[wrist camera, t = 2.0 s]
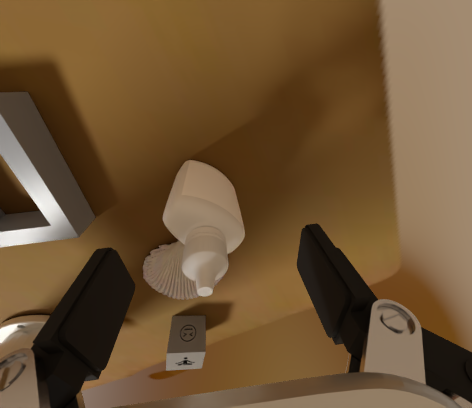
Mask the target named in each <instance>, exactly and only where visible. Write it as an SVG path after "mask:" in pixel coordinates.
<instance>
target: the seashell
mask: <svg viewBox="0 0 472 408" xmlns="http://www.w3.org/2000/svg"><path fill="white" fill-rule="evenodd" d="M184 246H185V245H184V244H183V243H181V242H180V241H179V240H178V241H177V242H175V243H172V244H171V245H167V244H165V245H159V249H155V250H152V251H151V252H150V253H151V255H149V256H147V257H146V258H145V261H144V265H143V271H144V272H143V274H144V276H143V278H144V279H145V280H146V282H148V284H149V285H150V286H152V287H151V288H153V289H155V290H156V291H158V292H159V293H162V294H163V295H167V296H168V297H171V296H172V298H176V299H180V298H181V299H182V300H184V299H185V297H186V299H189V297H190V298H191V299H192V298H194V297H195V298H196V297H198V296H200V295H198V293H197V287H196V281H193V280H191V279H189V278H188V277H186V276H185V274H184V273H183V271H182V259H183V252H184ZM223 276H224V275H223ZM223 276H222V277H221V278H219V279H217V280H215V282H214V286H215V285H217V283H218V282H219V281H220V280H221V279H222V278H223Z"/></svg>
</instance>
